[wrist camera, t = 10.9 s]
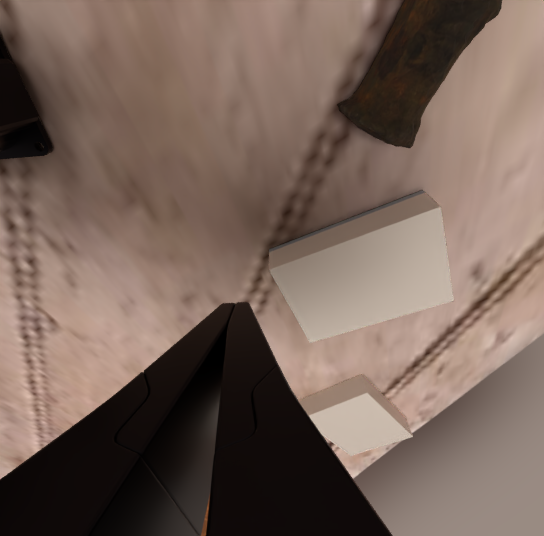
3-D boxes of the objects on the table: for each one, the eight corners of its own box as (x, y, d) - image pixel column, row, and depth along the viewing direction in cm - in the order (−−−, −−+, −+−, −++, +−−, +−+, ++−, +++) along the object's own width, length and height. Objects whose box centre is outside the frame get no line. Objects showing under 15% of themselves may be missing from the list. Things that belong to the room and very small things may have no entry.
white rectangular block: (299, 419, 32) (351, 455, 37) (367, 392, 29) (412, 436, 34) (298, 396, 34) (346, 434, 39) (360, 369, 31) (404, 414, 36)
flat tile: (307, 319, 26) (310, 342, 24) (269, 249, 22) (268, 269, 20) (437, 278, 24) (453, 300, 22) (422, 190, 19) (440, 206, 17)
